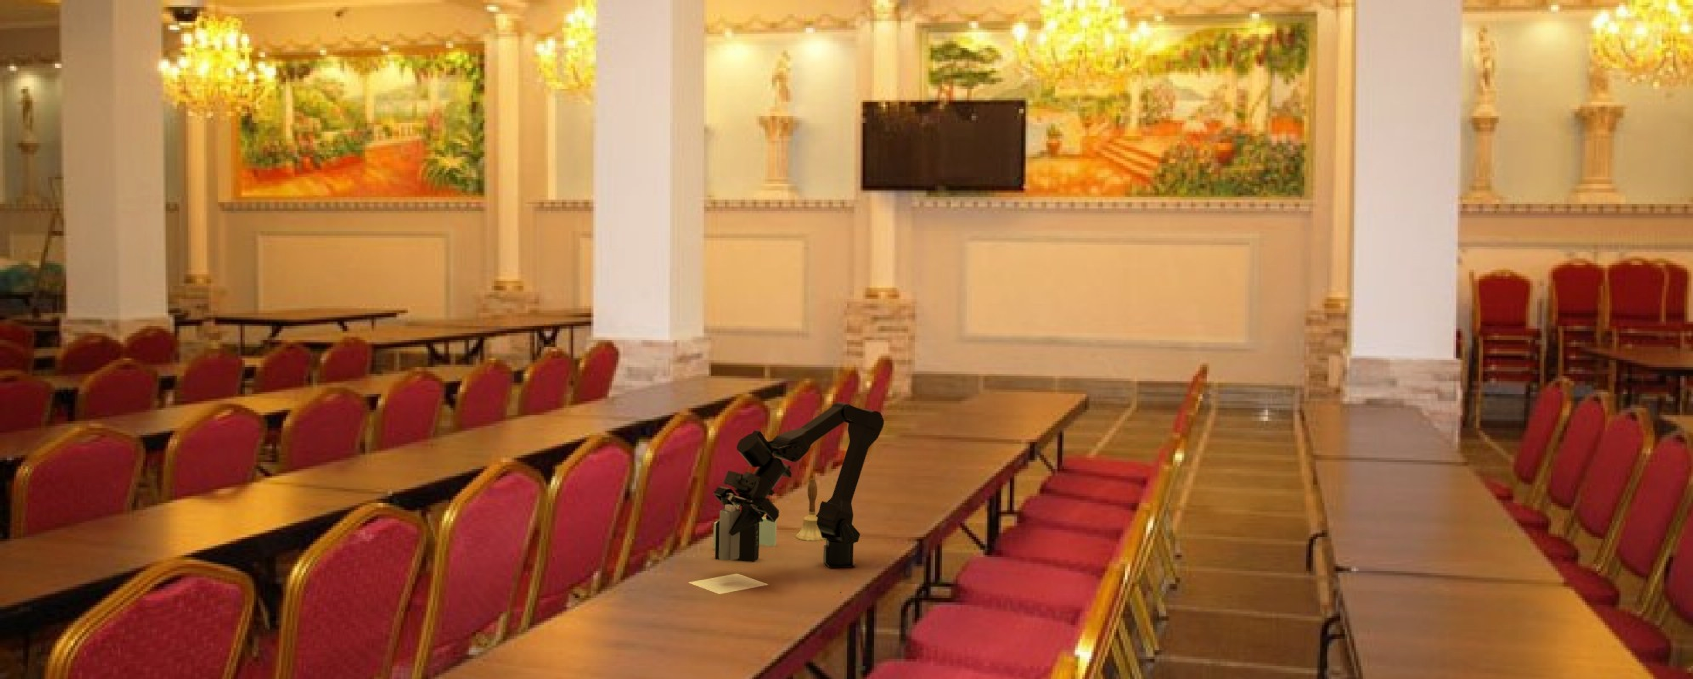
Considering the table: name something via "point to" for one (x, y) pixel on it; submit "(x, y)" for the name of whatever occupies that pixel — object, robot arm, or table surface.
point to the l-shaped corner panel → (761, 533)
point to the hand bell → (810, 517)
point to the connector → (726, 541)
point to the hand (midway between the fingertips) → (724, 532)
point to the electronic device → (744, 543)
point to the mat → (728, 583)
